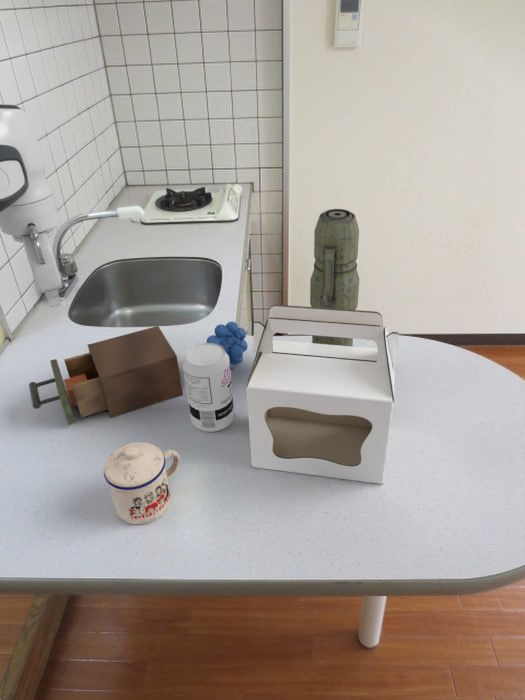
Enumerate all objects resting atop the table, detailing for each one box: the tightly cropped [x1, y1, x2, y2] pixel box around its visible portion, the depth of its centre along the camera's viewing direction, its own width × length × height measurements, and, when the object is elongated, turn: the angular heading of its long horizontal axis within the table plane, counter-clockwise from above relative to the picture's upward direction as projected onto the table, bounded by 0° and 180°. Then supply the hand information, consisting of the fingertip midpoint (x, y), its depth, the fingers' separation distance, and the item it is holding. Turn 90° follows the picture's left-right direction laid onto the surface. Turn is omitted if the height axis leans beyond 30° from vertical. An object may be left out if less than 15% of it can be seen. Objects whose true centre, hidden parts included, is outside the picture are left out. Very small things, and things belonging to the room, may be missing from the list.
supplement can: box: [182, 342, 236, 433], centre depth 95 cm, size 8×8×15 cm
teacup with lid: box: [103, 441, 181, 525], centre depth 81 cm, size 12×9×12 cm
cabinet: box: [87, 325, 184, 418], centre depth 105 cm, size 15×13×10 cm
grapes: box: [205, 320, 248, 372], centre depth 108 cm, size 12×7×12 cm, turn 140°
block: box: [63, 374, 87, 408], centre depth 102 cm, size 4×4×4 cm
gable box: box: [245, 304, 399, 485], centre depth 84 cm, size 22×13×28 cm, turn 78°
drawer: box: [28, 352, 108, 426], centre depth 102 cm, size 18×11×8 cm, turn 116°
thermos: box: [309, 208, 360, 347], centre depth 98 cm, size 9×12×35 cm
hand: (51, 293), depth 90 cm, fingers open, 8 cm apart
